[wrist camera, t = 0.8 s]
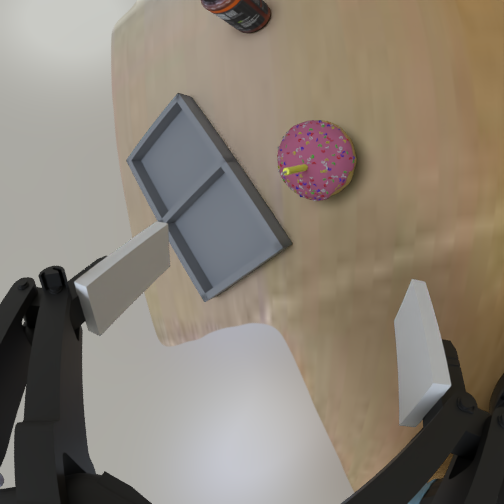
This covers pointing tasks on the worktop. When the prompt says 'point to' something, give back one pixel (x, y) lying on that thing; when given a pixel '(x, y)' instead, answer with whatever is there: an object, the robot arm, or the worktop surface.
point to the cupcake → (316, 159)
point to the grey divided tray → (204, 199)
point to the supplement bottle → (240, 13)
